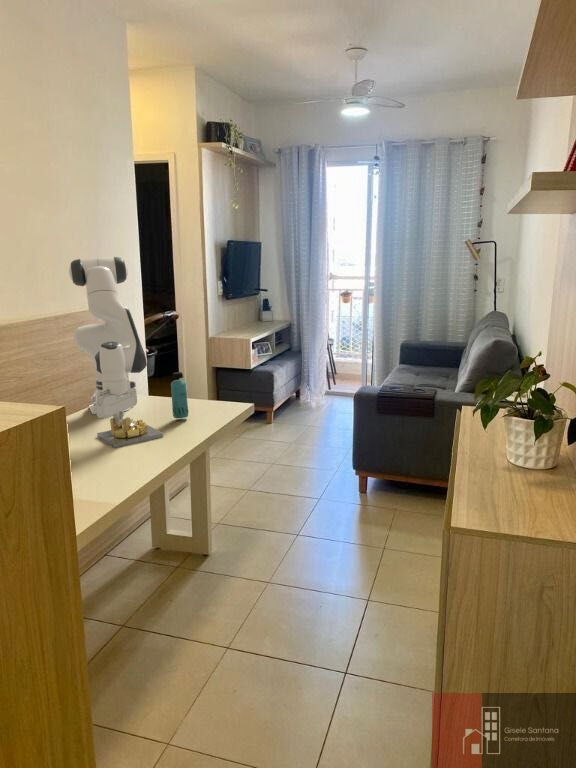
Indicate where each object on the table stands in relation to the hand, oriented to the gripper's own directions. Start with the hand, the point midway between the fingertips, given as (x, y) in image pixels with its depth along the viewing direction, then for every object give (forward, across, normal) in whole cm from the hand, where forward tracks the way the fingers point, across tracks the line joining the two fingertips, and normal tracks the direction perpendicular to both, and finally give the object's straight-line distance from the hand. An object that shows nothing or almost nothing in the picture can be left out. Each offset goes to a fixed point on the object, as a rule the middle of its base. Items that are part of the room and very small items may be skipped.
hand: (119, 423), depth 208 cm
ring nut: (+5, +4, -1) cm, 6 cm away
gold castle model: (+6, +4, -1) cm, 8 cm away
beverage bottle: (+7, +29, -9) cm, 31 cm away
